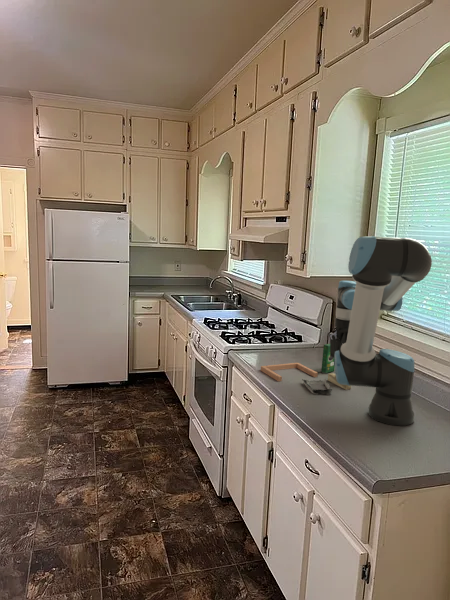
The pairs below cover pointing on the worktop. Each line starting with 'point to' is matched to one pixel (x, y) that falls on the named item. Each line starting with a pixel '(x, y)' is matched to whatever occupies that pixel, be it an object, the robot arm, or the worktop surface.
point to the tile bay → (277, 377)
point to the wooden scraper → (333, 379)
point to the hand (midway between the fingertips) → (340, 373)
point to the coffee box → (327, 360)
